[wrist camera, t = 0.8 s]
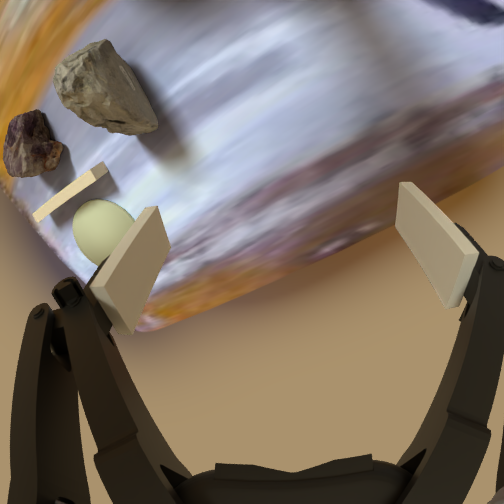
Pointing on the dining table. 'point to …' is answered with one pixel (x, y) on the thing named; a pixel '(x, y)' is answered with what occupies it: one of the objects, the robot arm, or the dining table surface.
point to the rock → (30, 146)
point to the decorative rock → (104, 90)
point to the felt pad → (100, 228)
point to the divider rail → (71, 190)
